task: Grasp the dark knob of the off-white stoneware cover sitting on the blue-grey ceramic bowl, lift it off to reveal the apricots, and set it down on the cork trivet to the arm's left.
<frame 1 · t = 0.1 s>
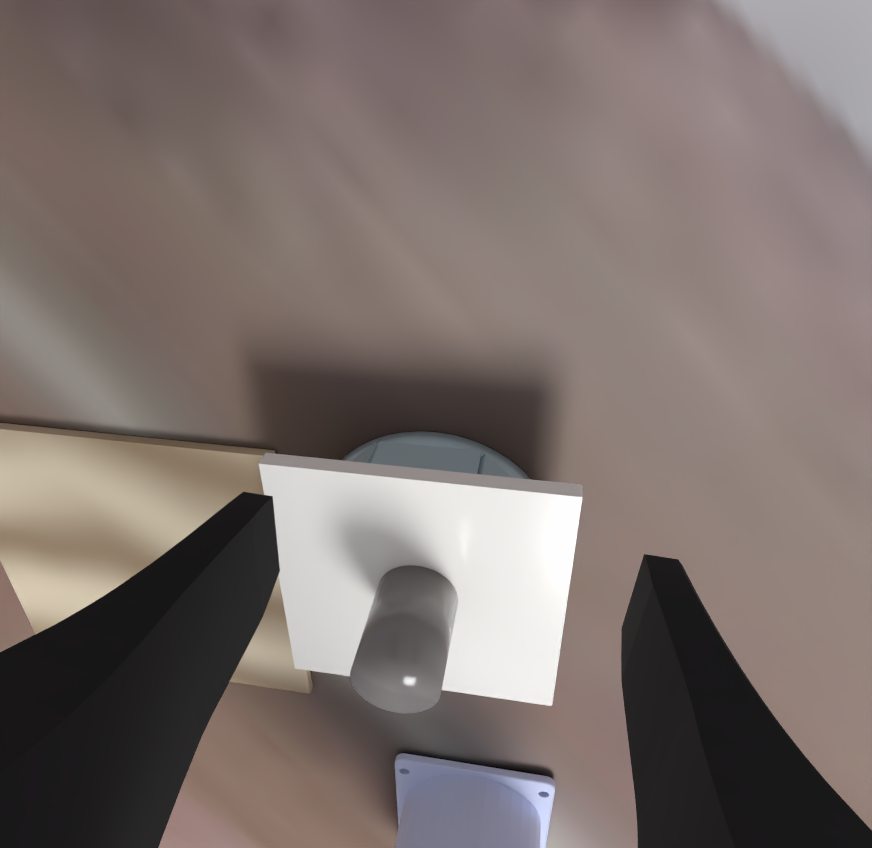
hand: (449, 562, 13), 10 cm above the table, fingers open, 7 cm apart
trivet: (144, 564, 31), on the table
cover: (421, 582, 24), point 3 cm above the table, touching bowl
bowl: (434, 529, 27), on the table
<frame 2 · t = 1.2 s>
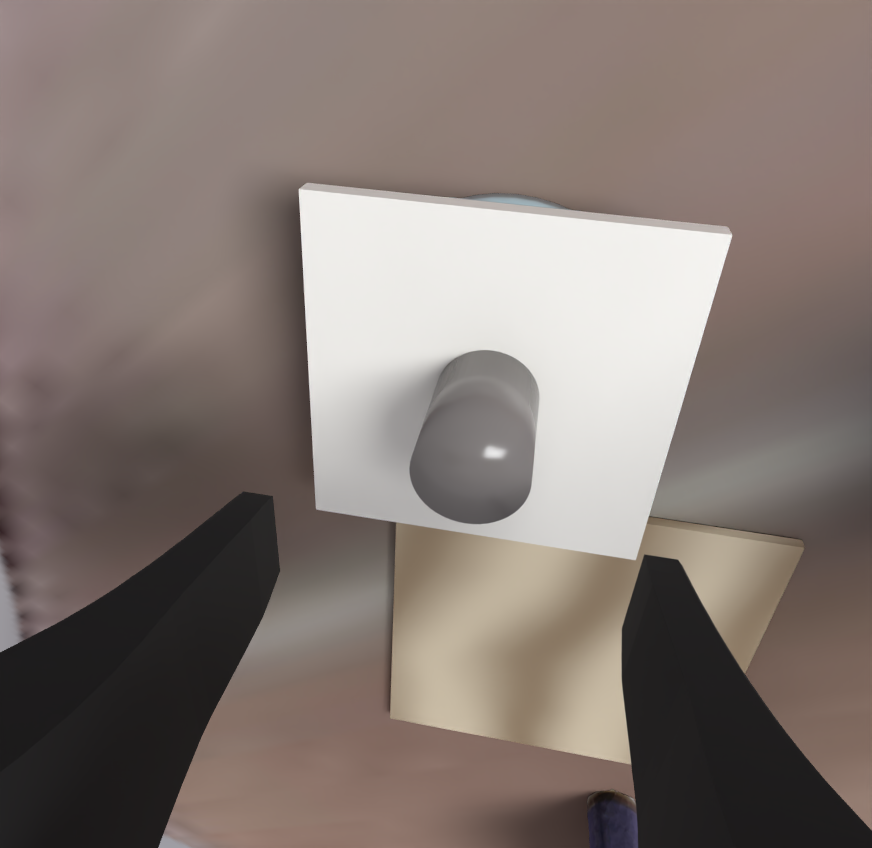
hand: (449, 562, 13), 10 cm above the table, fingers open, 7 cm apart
trivet: (563, 639, 28), on the table
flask: (638, 835, 36), on the table
cover: (489, 385, 19), point 3 cm above the table, touching bowl
bowl: (499, 341, 22), on the table
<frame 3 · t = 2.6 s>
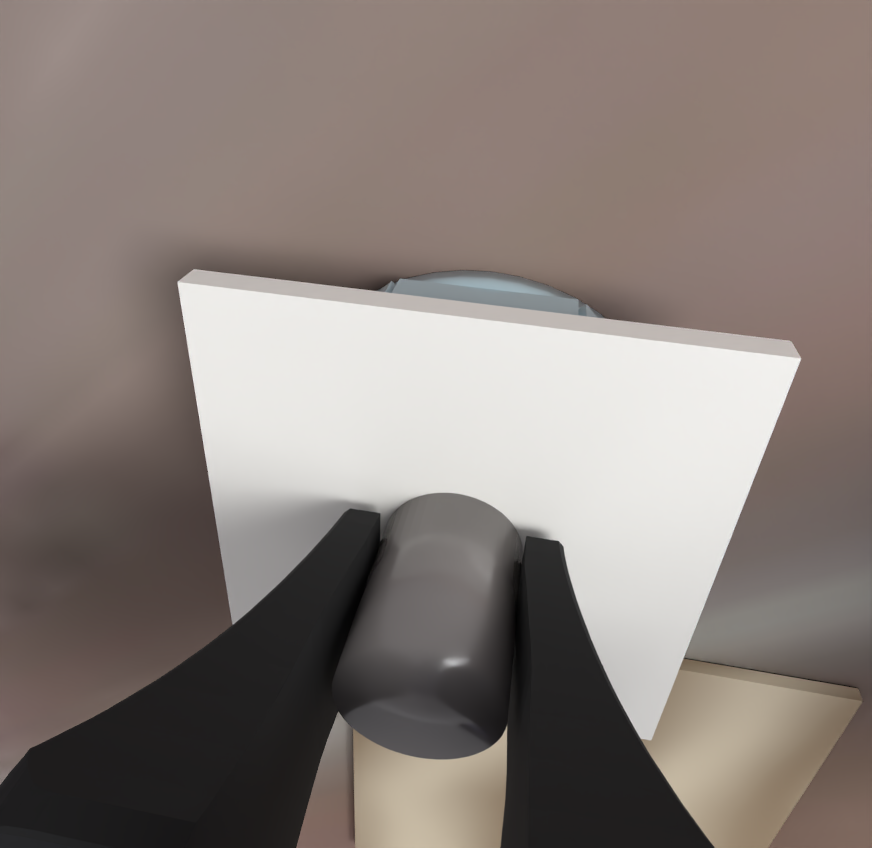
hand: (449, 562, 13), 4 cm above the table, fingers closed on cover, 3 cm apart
trivet: (558, 779, 23), on the table
cover: (456, 528, 14), point 3 cm above the table, touching bowl, gripper
bowl: (473, 450, 17), on the table
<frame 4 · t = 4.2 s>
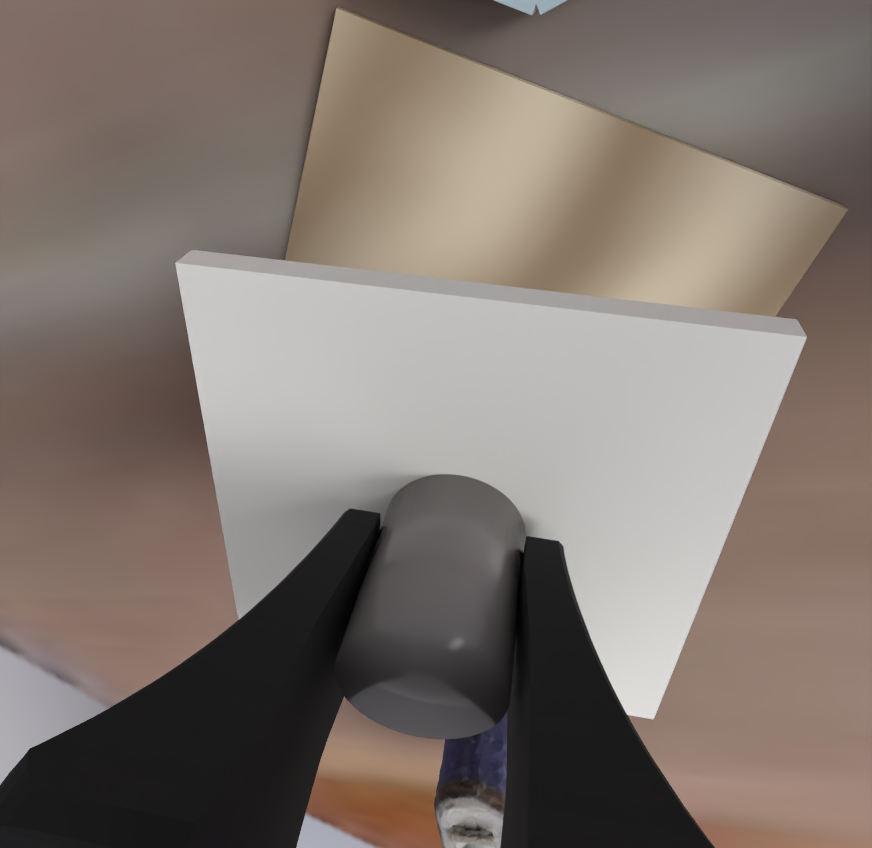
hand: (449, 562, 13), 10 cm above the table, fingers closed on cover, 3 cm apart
trivet: (498, 334, 22), on the table
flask: (512, 650, 30), on the table
cover: (459, 509, 14), point 9 cm above the table, touching gripper
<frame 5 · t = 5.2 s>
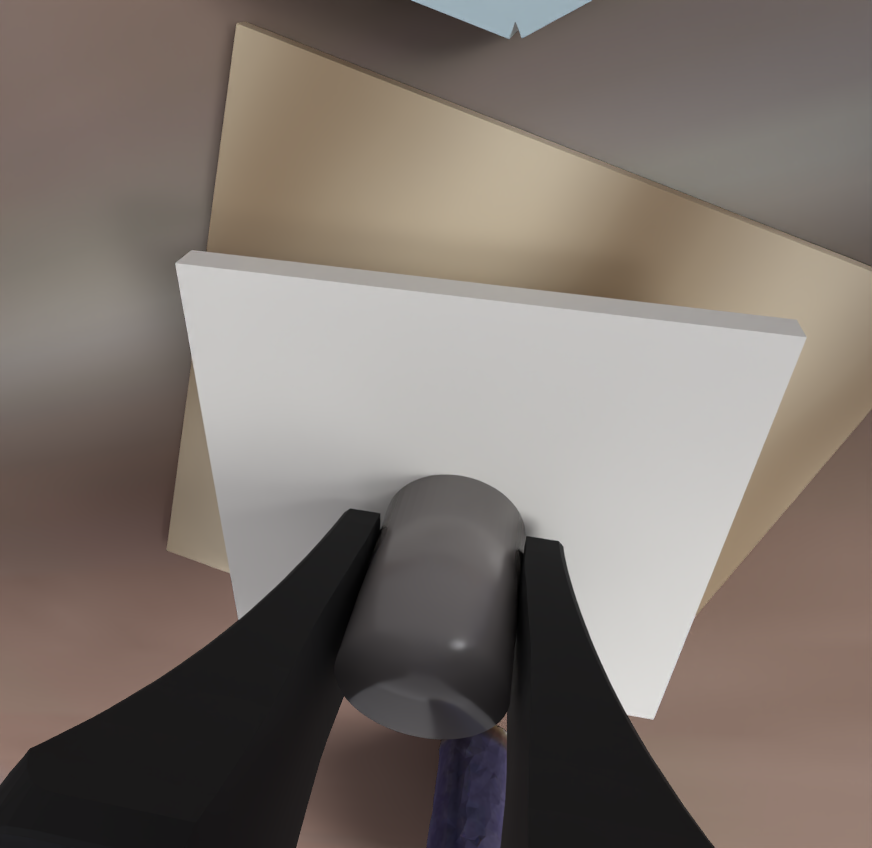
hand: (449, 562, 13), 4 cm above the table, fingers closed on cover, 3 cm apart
trivet: (475, 446, 17), on the table
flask: (500, 789, 25), on the table
cover: (458, 509, 14), point 3 cm above the table, touching gripper
when the fingers open (3 cm above the table, at t = 5.8 s): cover drops 1 cm, resting on trivet.
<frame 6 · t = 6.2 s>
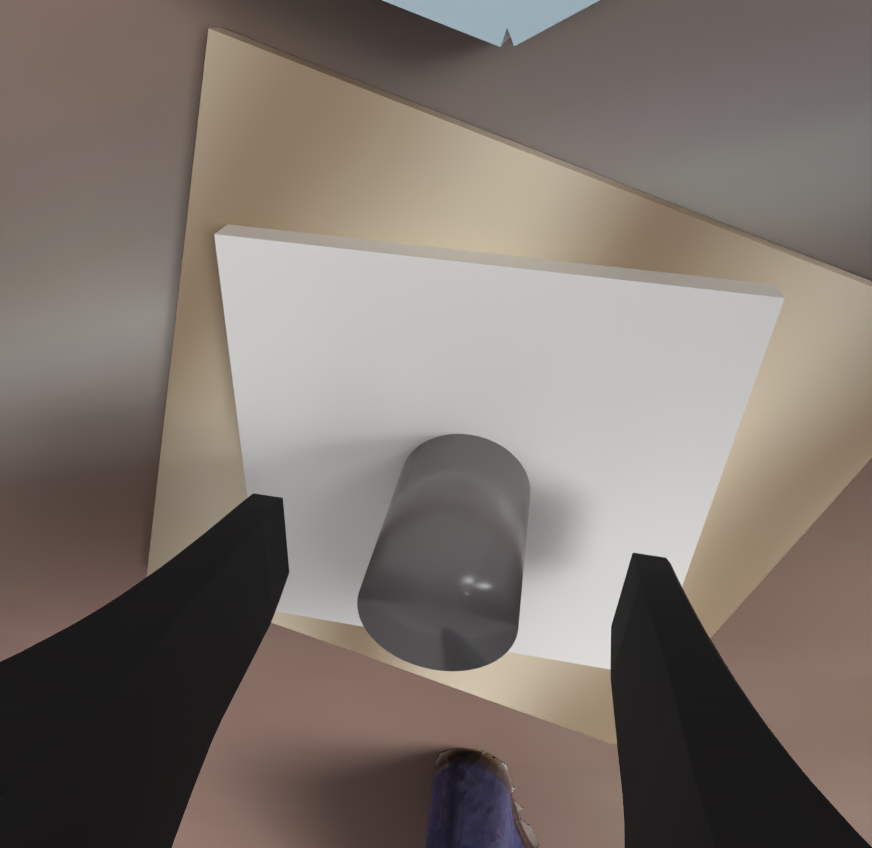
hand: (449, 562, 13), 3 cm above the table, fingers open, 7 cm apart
trivet: (468, 473, 16), on the table
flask: (496, 819, 24), on the table
cover: (468, 471, 15), resting on trivet
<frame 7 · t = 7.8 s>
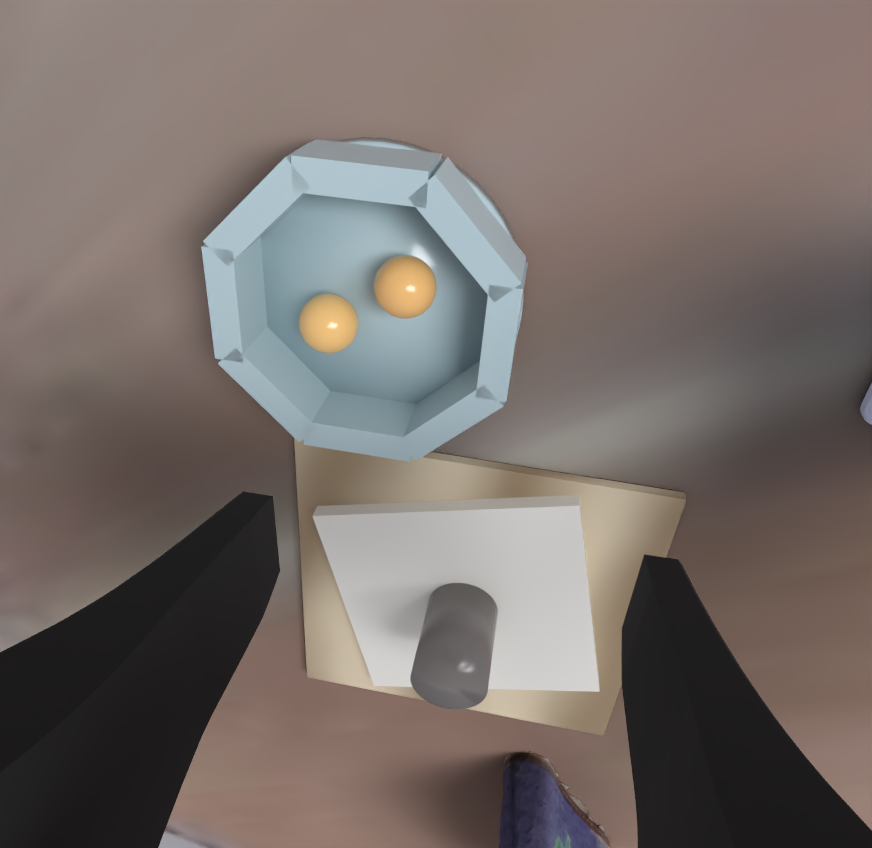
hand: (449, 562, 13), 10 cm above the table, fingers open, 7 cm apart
trivet: (467, 595, 29), on the table
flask: (556, 798, 36), on the table
cover: (464, 596, 28), resting on trivet
bowl: (381, 288, 22), on the table
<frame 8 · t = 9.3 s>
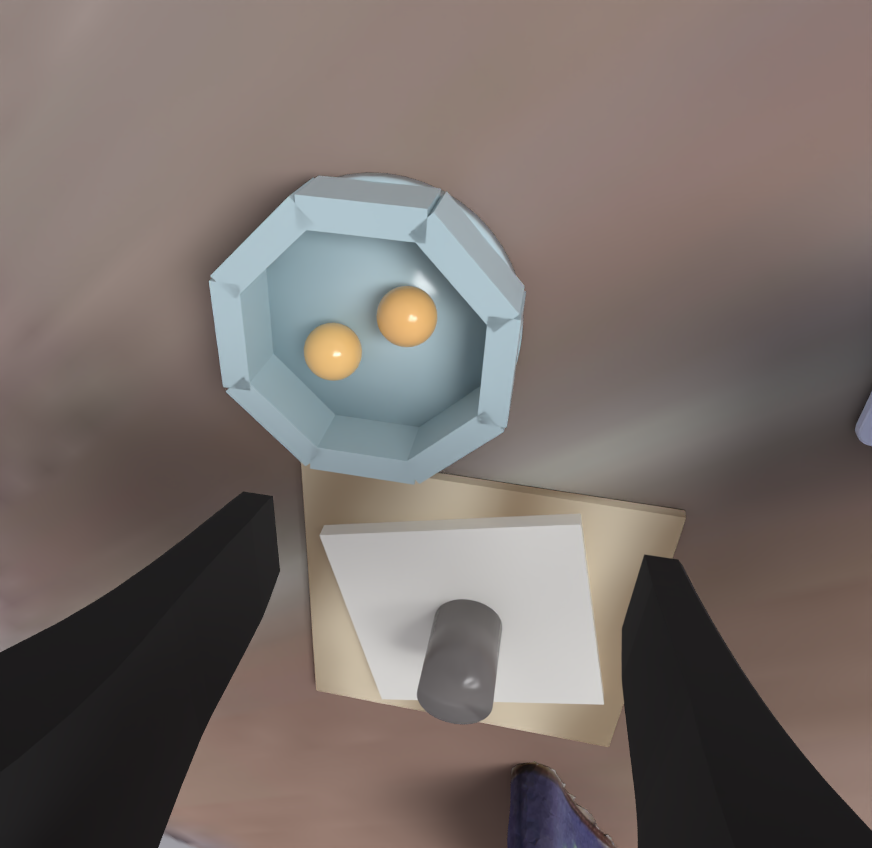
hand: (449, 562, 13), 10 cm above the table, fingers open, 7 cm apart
trivet: (472, 610, 29), on the table
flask: (563, 807, 37), on the table
cover: (469, 612, 29), resting on trivet
bowl: (383, 316, 22), on the table
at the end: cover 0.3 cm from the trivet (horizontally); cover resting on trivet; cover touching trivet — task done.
